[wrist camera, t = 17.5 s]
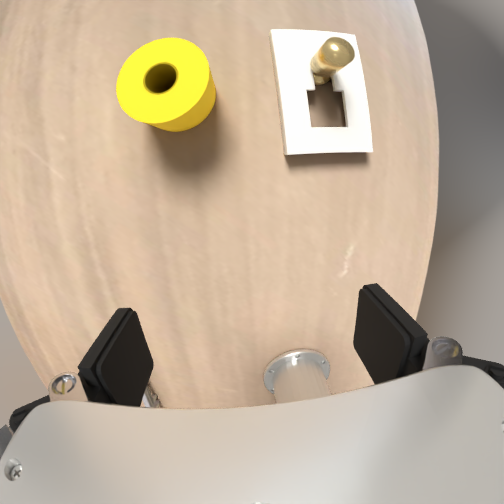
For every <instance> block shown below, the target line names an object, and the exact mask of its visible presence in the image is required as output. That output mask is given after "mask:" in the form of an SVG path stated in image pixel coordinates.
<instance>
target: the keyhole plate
mask: <svg viewBox="0 0 504 504" xmlns="http://www.w3.org/2000/svg"><path fill="white" fill-rule="evenodd" d="M331 37H340V38H343V39H345V40H346V41H348V42H349V43H350V44H351V45H352V47H353V49H354V51H355V57H354V59H353V61H352V62H350V63H349V64H348V65H346V66H345V67H344V68H342V69H341V70H340V71H338V72H337V73H336V74H335V75H333V76H331V78H332V85H333V91H337V92H342V97H343V105H344V112H345V121H346V127H311V122H310V114H309V106H308V98H307V91H314V90H315V84H314V77H313V71H312V69H311V66H310V61H311V58H312V57H313V56H314V55H315V53H316V52H317V51H318V50H319V49H320V47H321V46H322V45H323V44H324V43H325V41H326V40H327V39H329V38H331ZM269 41H270V47H271V54H272V61H273V67H274V74H275V82H276V89H277V97H278V105H279V113H280V121H281V130H282V139H283V148H284V155H293V154H310V153H335V152H373V147H372V135H371V125H370V116H369V108H368V101H367V94H366V88H365V82H364V76H363V70H362V65H361V60H360V55H359V51H358V46H357V42H356V38H355V35H352V34H345V33H336V32H327V31H314V30H289V29H273V30H271V31H270V34H269Z"/></svg>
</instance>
